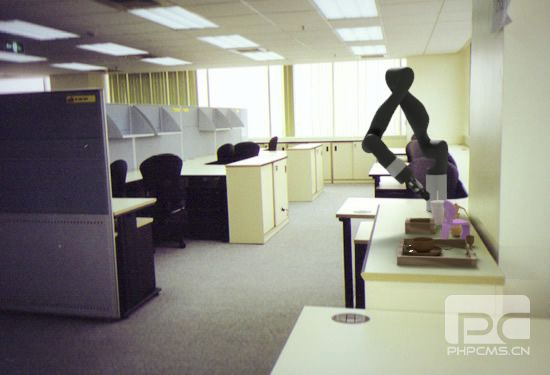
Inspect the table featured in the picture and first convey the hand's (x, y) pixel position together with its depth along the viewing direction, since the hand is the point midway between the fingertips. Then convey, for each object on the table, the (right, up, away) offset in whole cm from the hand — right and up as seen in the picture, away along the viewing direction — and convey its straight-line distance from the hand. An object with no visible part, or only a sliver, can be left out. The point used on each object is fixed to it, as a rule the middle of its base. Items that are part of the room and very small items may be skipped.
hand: (428, 197), depth 206 cm
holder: (-6, -13, -9) cm, 17 cm away
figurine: (+4, -14, -19) cm, 24 cm away
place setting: (-12, -18, -45) cm, 49 cm away
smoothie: (+4, -11, 0) cm, 12 cm away
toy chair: (0, -15, -29) cm, 32 cm away
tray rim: (-12, -17, -45) cm, 49 cm away
